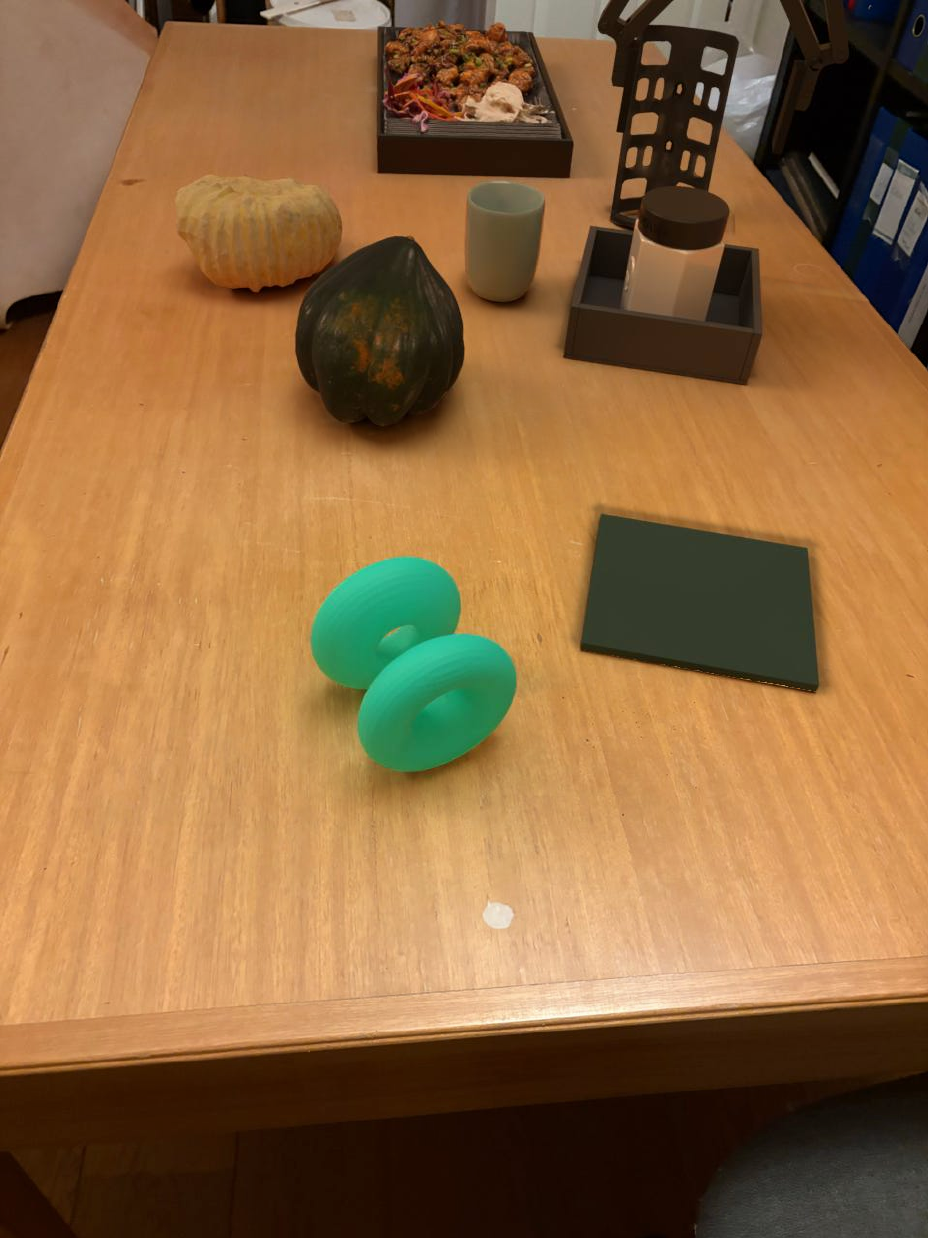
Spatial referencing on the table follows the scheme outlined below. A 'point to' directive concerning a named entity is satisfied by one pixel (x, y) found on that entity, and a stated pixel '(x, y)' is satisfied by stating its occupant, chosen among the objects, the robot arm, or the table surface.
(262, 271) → the pale yellow ribbed round
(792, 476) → the table surface
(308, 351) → the squash
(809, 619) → the mat
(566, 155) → the food platter
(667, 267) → the jar
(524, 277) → the cup
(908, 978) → the table surface
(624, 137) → the holder
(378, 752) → the donuts
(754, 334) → the tub
